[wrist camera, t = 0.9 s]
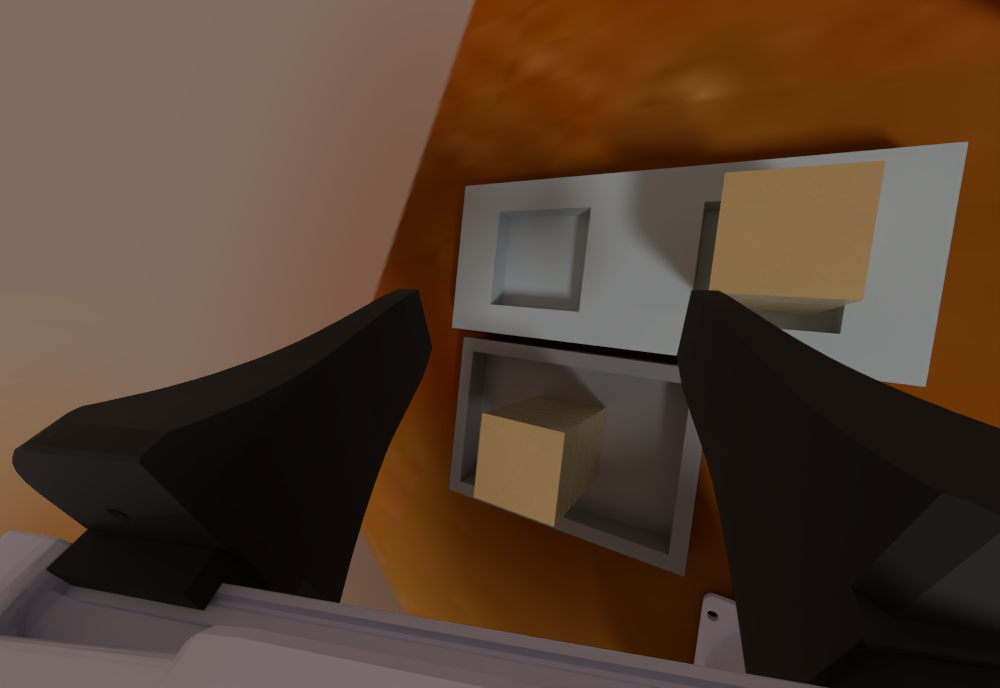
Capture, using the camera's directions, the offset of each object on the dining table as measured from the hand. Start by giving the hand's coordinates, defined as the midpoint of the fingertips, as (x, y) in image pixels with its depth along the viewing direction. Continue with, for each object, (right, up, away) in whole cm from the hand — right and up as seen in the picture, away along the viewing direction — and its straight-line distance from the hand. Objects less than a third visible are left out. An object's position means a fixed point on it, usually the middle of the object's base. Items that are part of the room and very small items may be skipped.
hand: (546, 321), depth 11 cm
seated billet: (+11, +3, +8) cm, 14 cm away
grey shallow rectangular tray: (+3, -6, +13) cm, 15 cm away
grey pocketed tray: (+7, +4, +11) cm, 14 cm away
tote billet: (+3, -6, +13) cm, 14 cm away
